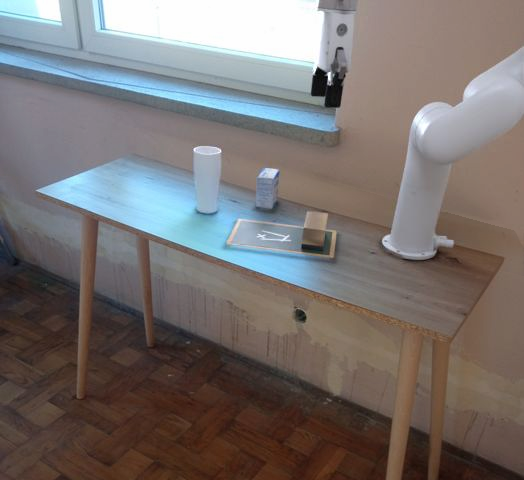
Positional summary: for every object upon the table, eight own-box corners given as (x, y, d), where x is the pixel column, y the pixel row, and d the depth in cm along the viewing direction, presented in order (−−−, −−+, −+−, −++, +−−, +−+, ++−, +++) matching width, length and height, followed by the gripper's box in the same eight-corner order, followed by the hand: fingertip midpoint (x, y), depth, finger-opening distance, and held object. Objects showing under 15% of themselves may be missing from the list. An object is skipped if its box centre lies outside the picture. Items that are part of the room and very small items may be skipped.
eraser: (325, 233, 131) (328, 213, 129) (322, 251, 123) (325, 230, 120) (305, 231, 132) (307, 210, 129) (301, 248, 124) (303, 227, 121)
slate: (336, 234, 134) (336, 230, 133) (333, 262, 122) (333, 257, 121) (238, 222, 136) (238, 218, 135) (225, 248, 124) (225, 243, 123)
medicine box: (271, 212, 143) (274, 178, 138) (254, 210, 143) (256, 176, 138) (277, 201, 149) (280, 169, 144) (261, 199, 150) (263, 167, 144)
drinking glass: (224, 214, 139) (225, 153, 131) (197, 216, 137) (197, 155, 128) (215, 204, 144) (216, 145, 136) (190, 206, 142) (189, 146, 133)
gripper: (372, 8, 97) (356, 112, 107) (341, 0, 111) (329, 92, 121) (331, 6, 96) (319, 111, 106) (305, -3, 109) (296, 91, 119)
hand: (324, 101), depth 113 cm, fingers open, 9 cm apart
